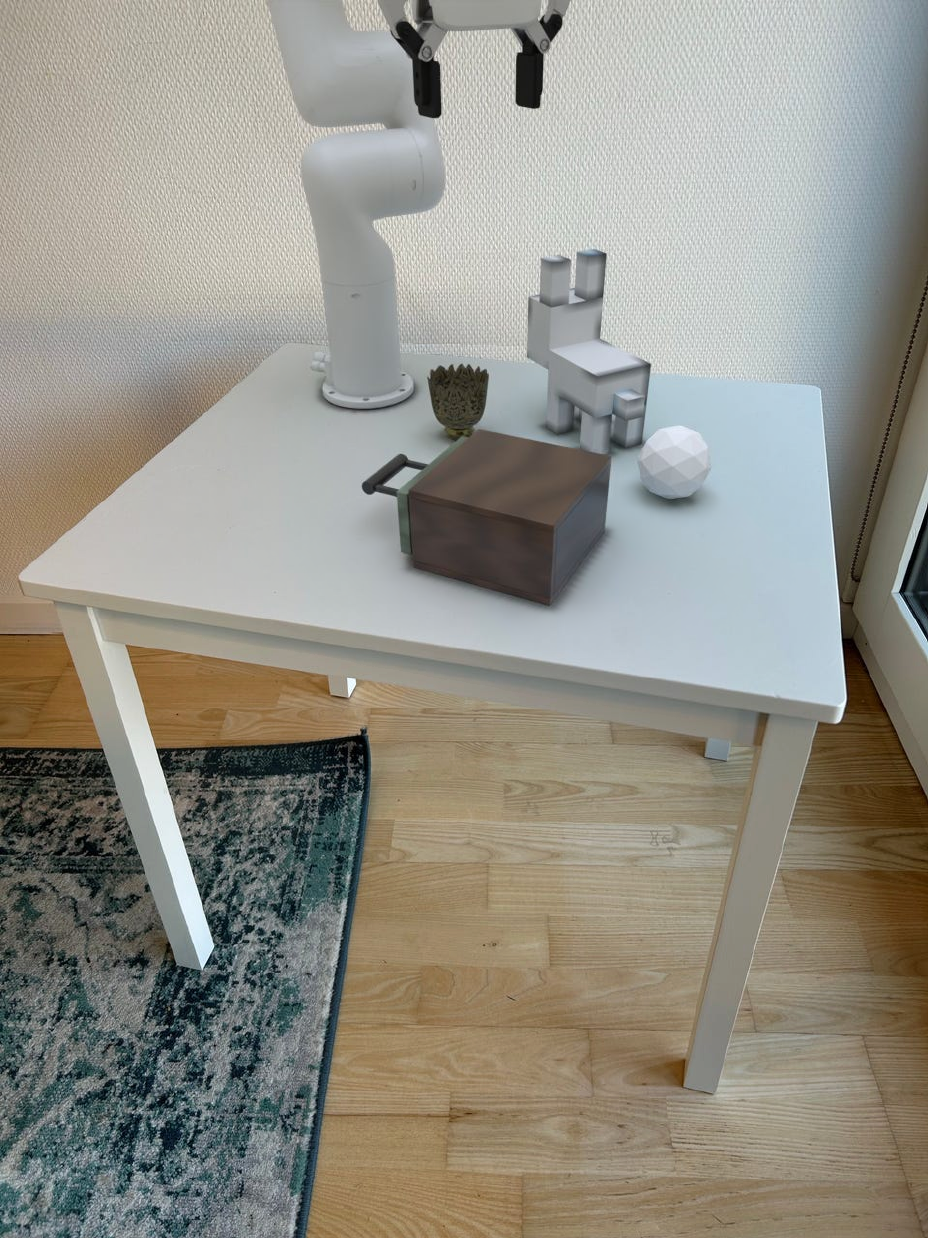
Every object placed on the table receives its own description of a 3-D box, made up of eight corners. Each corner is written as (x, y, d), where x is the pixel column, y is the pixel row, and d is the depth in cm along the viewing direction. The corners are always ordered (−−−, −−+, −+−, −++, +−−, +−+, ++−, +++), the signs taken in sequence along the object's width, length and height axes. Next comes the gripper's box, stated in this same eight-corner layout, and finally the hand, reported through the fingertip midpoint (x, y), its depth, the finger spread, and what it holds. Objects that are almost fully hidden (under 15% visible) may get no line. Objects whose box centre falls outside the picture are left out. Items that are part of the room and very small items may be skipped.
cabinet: (412, 567, 85) (407, 489, 80) (479, 500, 95) (478, 428, 90) (549, 605, 79) (554, 525, 74) (604, 531, 89) (612, 455, 84)
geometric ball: (647, 511, 98) (619, 447, 97) (712, 481, 97) (684, 415, 96) (663, 512, 90) (632, 442, 89) (733, 479, 90) (703, 408, 89)
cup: (482, 450, 105) (482, 387, 100) (424, 446, 106) (421, 383, 101) (493, 425, 111) (493, 364, 106) (437, 421, 112) (435, 360, 107)
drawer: (347, 537, 88) (340, 477, 84) (414, 481, 97) (410, 424, 93) (525, 586, 80) (527, 523, 76) (578, 520, 90) (582, 460, 85)
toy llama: (604, 465, 101) (619, 290, 89) (525, 412, 113) (529, 252, 101) (654, 451, 104) (676, 279, 92) (572, 401, 116) (582, 244, 104)
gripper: (548, -146, 70) (541, 99, 80) (350, -152, 63) (370, 115, 74) (603, -157, 65) (587, 107, 75) (392, -165, 58) (407, 125, 68)
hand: (479, 111), depth 74 cm, fingers open, 9 cm apart
